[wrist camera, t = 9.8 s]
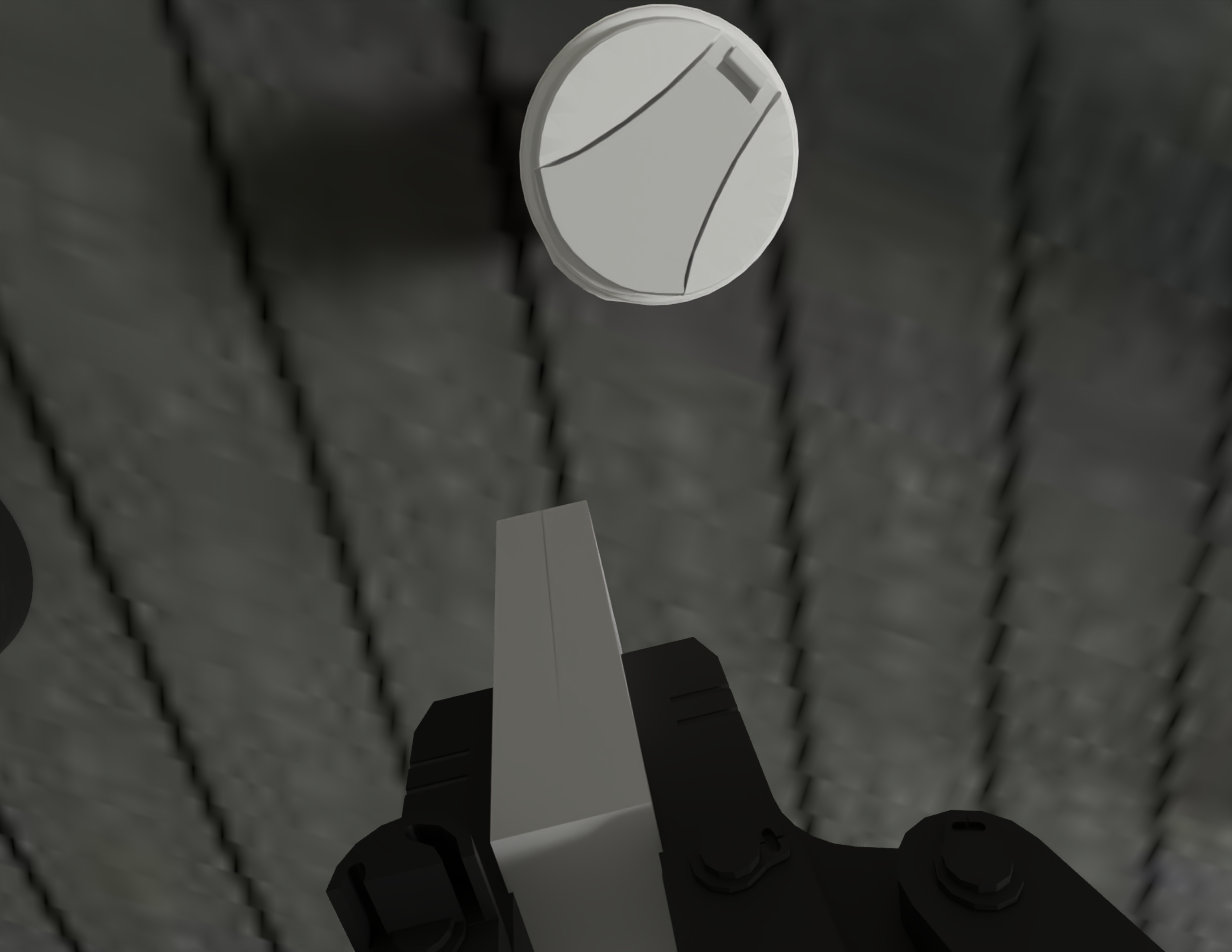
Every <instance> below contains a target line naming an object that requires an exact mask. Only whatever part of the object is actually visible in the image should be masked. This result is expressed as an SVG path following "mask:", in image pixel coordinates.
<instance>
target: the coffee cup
mask: <svg viewBox="0 0 1232 952" xmlns="http://www.w3.org/2000/svg"><path fill="white" fill-rule="evenodd" d="M798 153H799V151H798V135H797V126H796V121H795V117H794V112H793V107H792V104H791V101H790V99H789V96H788V93H787V91H786V88H785V86H784V83H783V81H782V80H781V78H780V76H779V74H778V73H777V71H776V69H775V67H774V66H773V64H772V62H771V61H770V60H769V59H768V58H767V56H766V55H765V54H764V53H763V51H762V50H761V49H760V48H759V46H758V45H757V44H756V43H754V42H753V41H752V40H751V39H750V38H749V37H748V36H747V35H745V34H744V33H743V32H742V31H741V30H740V29H738V28H736V27H735V26H733V25H732V24H730V23H728V22H727V21H725V20H723V19H722V18H720V17H718V16H715V15H712V14H710V13H707V12H705V11H702V10H700V9H696V8H691V7H685V6H680V5H669V4H651V5H645V6H640V7H634V8H628V9H626V10H623V11H620V12H617V13H615V14H612V15H609V16H606V17H605V18H603V19H601V20H599V21H598V22H596V23H594V24H592V25H591V26H589V27H587V28H586V29H584V30H583V31H582V32H581V33H579V34H578V35H577V36H576V37H575V38H573V39H572V40H571V41H570V42H569V43H567V44H566V45H565V47H564V48H563V49H562V50H561V51H560V52H559V53H558V55H557V56H556V57H555V58H554V59H553V60H552V62H551V63H550V64H549V66H548V68H547V69H546V71H545V72H544V74H543V76H542V77H541V79H540V80H539V82H538V84H537V86H536V88H535V91H534V93H533V95H532V98H531V100H530V102H529V105H528V108H527V112H526V116H525V120H524V123H523V127H522V134H521V143H520V153H519V156H520V178H521V183H522V188H523V193H524V198H525V202H526V205H527V208H528V211H529V213H530V216H531V219H532V222H533V224H534V226H535V228H536V229H537V231H538V233H539V235H540V237H541V239H542V241H543V243H544V245H545V247H546V249H547V251H548V253H549V255H550V257H551V259H552V262H553V264H554V265H555V266H556V267H557V268H558V269H559V270H561V271H562V272H563V273H564V274H565V275H566V276H567V277H568V278H569V279H570V280H572V281H573V282H574V283H576V284H577V285H579V286H580V287H582V288H583V289H584V290H586V291H588V292H590V293H592V294H594V295H596V296H598V297H600V298H602V299H604V300H610V301H620V302H629V303H637V304H644V305H669V304H675V303H680V302H686V301H690V300H693V299H696V298H699V297H701V296H704V295H707V294H710V293H711V292H713V291H715V290H717V289H719V288H721V287H723V286H725V285H727V284H728V283H729V282H731V281H732V280H733V279H735V278H736V277H737V276H739V275H740V274H742V273H743V272H744V271H745V270H746V269H747V268H748V267H749V266H750V265H751V264H752V263H753V262H754V261H755V260H756V259H757V258H758V257H759V256H760V255H761V254H762V252H763V251H764V250H765V248H766V247H767V246H768V244H769V243H770V242H771V240H772V239H773V237H774V236H775V234H776V232H777V230H778V228H779V227H780V225H781V223H782V221H783V219H784V217H785V214H786V211H787V209H788V206H789V203H790V201H791V198H792V194H793V190H794V185H795V181H796V176H797V166H798Z"/></svg>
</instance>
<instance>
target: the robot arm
mask: <svg viewBox="0 0 1232 952" xmlns="http://www.w3.org/2000/svg"><path fill="white" fill-rule="evenodd" d="M32 590H33V577H32V567H31V561H30V557H29V553H28V550H27V547H26V544H25V541H24V539H23V537H22V534H21V532H20V530H19V528H18V526H17V524H16V522H15V521H14V519H13V517H12V516H11V514H10V513H9V511H8V510H7V508H6V507H5V506H4V504H3V503H2V501H1V500H0V653H1V652H2V651H3V650H4V649H5V648H6V647H7V646H8V645H9V644H10V643H11V642H12V640H13V639H14V638H15V636H16V635H17V634H18V632H19V631H20V629H21V627H22V625H23V623H24V621H25V619H26V617H27V614H28V611H29V608H30V603H31V599H32ZM410 767H411V769H409V771H408V778H407V785H406V791H407V795H406V796H405V799H404V805H403V812H402V818H400V819H397V820H394V821H392V822H389V823H387V824H384V825H382V826H380V827H379V828H377V829H376V830H374V831H373V832H372V833H370V834H369V835H367V836H366V837H365V838H363V839H362V840H360V841H359V842H358V843H356V844H355V846H354V847H353V848H352V849H351V850H350V851H349V853H348V854H347V855H346V856H345V857H344V858H343V860H342V861H341V862H340V863H339V864H338V865H337V867H336V869H335V872H334V874H333V876H332V878H331V881H330V883H329V885H328V888H327V890H326V893H327V895H328V897H329V899H330V901H331V903H332V905H333V907H334V909H335V911H336V913H337V915H338V918H339V920H340V922H341V924H342V926H343V928H344V930H345V932H346V934H347V936H348V938H349V940H350V942H351V944H352V946H353V948H354V950H355V952H1165V951H1164V950H1162V949H1161V948H1160V947H1159V946H1158V945H1157V944H1156V943H1155V942H1153V941H1152V940H1151V939H1150V938H1149V937H1148V936H1147V935H1146V934H1145V933H1143V932H1142V931H1141V930H1140V929H1139V928H1138V927H1137V926H1136V925H1135V924H1133V923H1132V922H1131V921H1130V920H1129V919H1128V918H1127V917H1126V916H1125V915H1123V914H1122V913H1121V912H1120V911H1119V910H1118V909H1117V908H1116V907H1114V906H1113V905H1112V904H1111V903H1110V902H1109V901H1108V900H1107V899H1106V898H1104V897H1103V896H1102V895H1101V894H1100V893H1099V892H1098V891H1097V890H1096V889H1094V888H1093V887H1092V886H1091V885H1090V884H1089V883H1088V882H1087V881H1085V880H1084V879H1083V878H1082V877H1081V876H1080V875H1079V874H1078V873H1077V872H1075V871H1074V870H1073V869H1072V868H1071V867H1070V866H1069V865H1068V864H1067V863H1065V862H1064V861H1063V860H1062V859H1061V858H1060V857H1059V856H1058V855H1057V854H1055V853H1054V852H1053V851H1052V850H1051V849H1050V848H1049V847H1048V846H1046V845H1045V844H1044V843H1043V842H1042V841H1041V840H1040V839H1039V838H1037V837H1036V836H1034V835H1033V834H1031V833H1030V832H1028V831H1027V830H1025V829H1024V828H1022V827H1020V826H1019V825H1017V824H1016V823H1014V822H1013V821H1011V820H1008V819H1005V818H1001V817H998V816H995V815H992V814H989V813H986V812H983V811H965V810H949V811H946V812H943V813H939V814H936V815H932V816H929V817H925V818H924V819H922V820H921V821H920V822H919V823H917V824H916V825H915V826H914V827H912V828H911V829H910V830H909V831H907V832H906V833H905V835H904V838H903V840H902V842H901V844H900V847H899V849H897V848H875V847H855V846H848V845H841V844H834V843H830V842H828V841H825V840H822V839H819V838H816V837H814V836H811V835H810V834H808V833H806V832H805V831H803V830H802V829H800V828H798V827H797V826H795V825H794V824H793V823H792V822H791V821H790V820H789V819H788V818H787V817H786V816H785V815H784V814H783V813H782V812H781V810H780V808H779V807H778V805H777V803H776V802H775V800H774V798H773V796H772V793H771V791H770V788H769V786H768V783H767V780H766V778H765V775H764V773H763V770H762V768H761V765H760V763H759V760H758V758H757V755H756V753H755V750H754V748H753V745H752V742H751V740H750V737H749V735H748V732H747V730H746V727H745V725H744V722H743V720H742V717H741V715H740V712H739V711H738V708H737V704H736V702H735V699H734V697H733V694H732V692H731V689H730V688H729V685H728V682H727V679H726V677H725V674H724V671H723V669H722V666H721V664H720V661H719V659H718V656H716V655H715V654H714V653H713V652H711V651H710V650H709V649H708V648H706V647H705V646H704V645H703V644H701V643H700V642H699V641H698V640H696V639H695V638H694V637H691V638H687V639H683V640H679V641H674V642H670V643H666V644H662V645H658V646H654V647H649V648H645V649H641V650H637V651H633V652H628V653H624V654H622V649H621V645H620V640H619V636H618V632H617V627H616V623H615V619H614V615H613V610H612V606H611V602H610V598H609V593H608V589H607V585H606V581H605V576H604V572H603V568H602V564H601V559H600V555H599V551H598V547H597V542H596V538H595V534H594V530H593V525H592V521H591V517H590V513H589V508H588V504H587V500H584V501H580V502H576V503H571V504H567V505H563V506H558V507H554V508H550V509H545V510H541V511H537V512H533V513H528V514H524V515H520V516H515V517H511V518H507V519H502V520H498V521H497V528H496V578H495V627H494V677H493V688H489V689H485V690H481V691H476V692H472V693H468V694H464V695H460V696H455V697H451V698H447V699H443V700H439V701H434V702H433V704H432V705H431V707H430V708H429V710H428V711H427V713H426V714H425V716H424V718H423V719H422V721H421V722H420V724H419V725H418V727H417V729H416V730H415V732H414V737H413V744H412V751H411V758H410Z"/></svg>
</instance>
